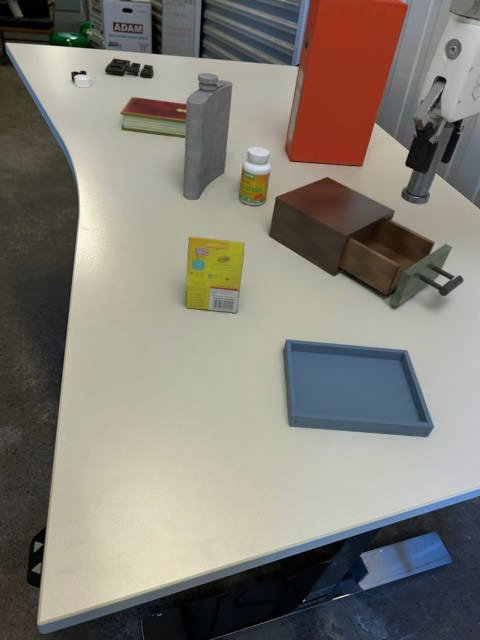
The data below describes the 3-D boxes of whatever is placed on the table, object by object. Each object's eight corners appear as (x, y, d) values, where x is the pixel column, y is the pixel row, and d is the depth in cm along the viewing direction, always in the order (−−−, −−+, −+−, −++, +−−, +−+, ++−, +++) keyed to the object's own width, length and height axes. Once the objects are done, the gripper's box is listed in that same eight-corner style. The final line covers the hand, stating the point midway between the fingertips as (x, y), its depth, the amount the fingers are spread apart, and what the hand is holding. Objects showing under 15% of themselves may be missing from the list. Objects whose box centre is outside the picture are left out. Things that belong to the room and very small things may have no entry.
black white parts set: (68, 88, 131) (67, 75, 129) (91, 60, 149) (90, 48, 146) (142, 100, 133) (142, 87, 130) (156, 70, 150) (156, 58, 148)
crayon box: (238, 300, 70) (247, 231, 62) (237, 314, 68) (247, 244, 60) (187, 295, 70) (190, 225, 62) (184, 308, 67) (188, 237, 60)
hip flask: (195, 201, 91) (201, 89, 77) (176, 195, 91) (178, 83, 78) (226, 170, 102) (236, 68, 89) (209, 165, 103) (216, 63, 90)
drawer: (464, 291, 77) (480, 261, 73) (424, 324, 69) (440, 292, 65) (370, 239, 85) (380, 210, 82) (326, 263, 78) (335, 233, 74)
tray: (402, 360, 64) (407, 350, 63) (427, 437, 55) (434, 426, 54) (283, 349, 63) (285, 339, 62) (289, 426, 54) (292, 415, 53)
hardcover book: (132, 112, 121) (131, 94, 118) (214, 123, 122) (216, 106, 119) (121, 129, 112) (120, 111, 109) (210, 141, 113) (211, 123, 110)
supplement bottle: (236, 203, 92) (242, 154, 85) (240, 191, 96) (246, 143, 89) (264, 208, 91) (271, 159, 85) (267, 195, 96) (275, 148, 89)
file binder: (284, 147, 115) (312, -13, 94) (353, 152, 118) (395, -2, 96) (289, 161, 109) (321, -6, 88) (362, 166, 112) (409, 5, 91)
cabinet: (381, 248, 85) (395, 210, 80) (334, 276, 77) (346, 236, 72) (318, 213, 92) (327, 176, 87) (268, 235, 84) (275, 196, 79)
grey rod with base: (435, 198, 69) (465, 124, 62) (416, 208, 66) (446, 131, 59) (412, 188, 70) (439, 115, 64) (393, 197, 68) (419, 121, 61)
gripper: (485, 18, 46) (419, 191, 58) (548, 10, 56) (480, 161, 68) (417, 2, 50) (368, 168, 62) (487, -3, 59) (433, 142, 71)
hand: (427, 163), depth 65 cm, fingers closed on grey rod with base, 5 cm apart
